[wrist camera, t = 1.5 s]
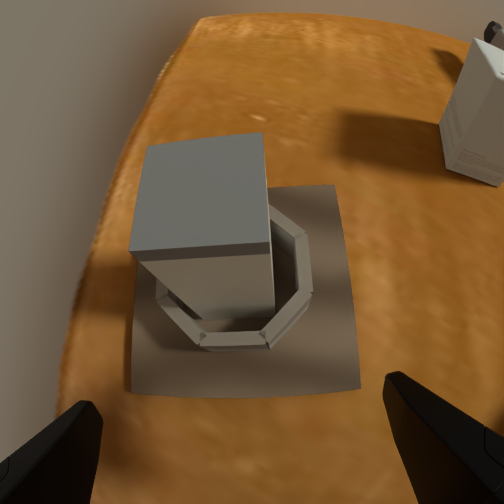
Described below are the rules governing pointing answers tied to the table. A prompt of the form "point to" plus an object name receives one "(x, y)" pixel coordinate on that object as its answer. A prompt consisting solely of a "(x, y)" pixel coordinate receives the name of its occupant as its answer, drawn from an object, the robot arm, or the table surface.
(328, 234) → the ring stand
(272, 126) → the table surface
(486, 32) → the gun
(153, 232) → the link block
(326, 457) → the table surface
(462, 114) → the supplement box
